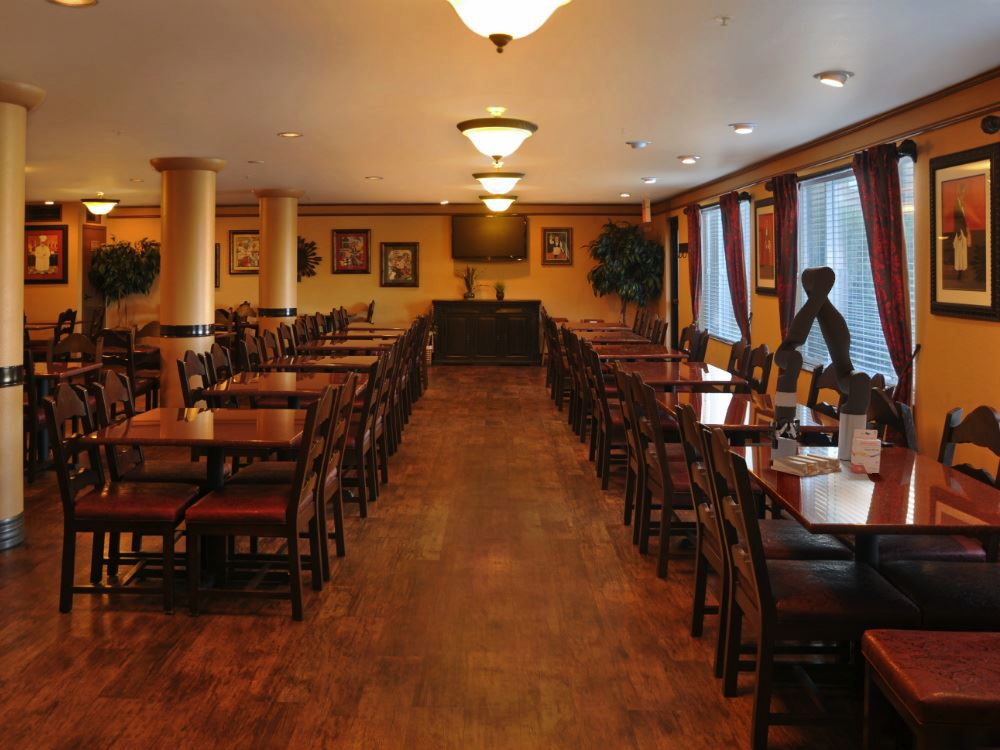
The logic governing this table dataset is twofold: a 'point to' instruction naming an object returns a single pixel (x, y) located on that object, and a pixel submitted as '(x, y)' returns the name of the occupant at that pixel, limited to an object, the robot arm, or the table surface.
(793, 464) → the rack
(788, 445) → the panel
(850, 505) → the table surface
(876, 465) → the ink cartridge box
